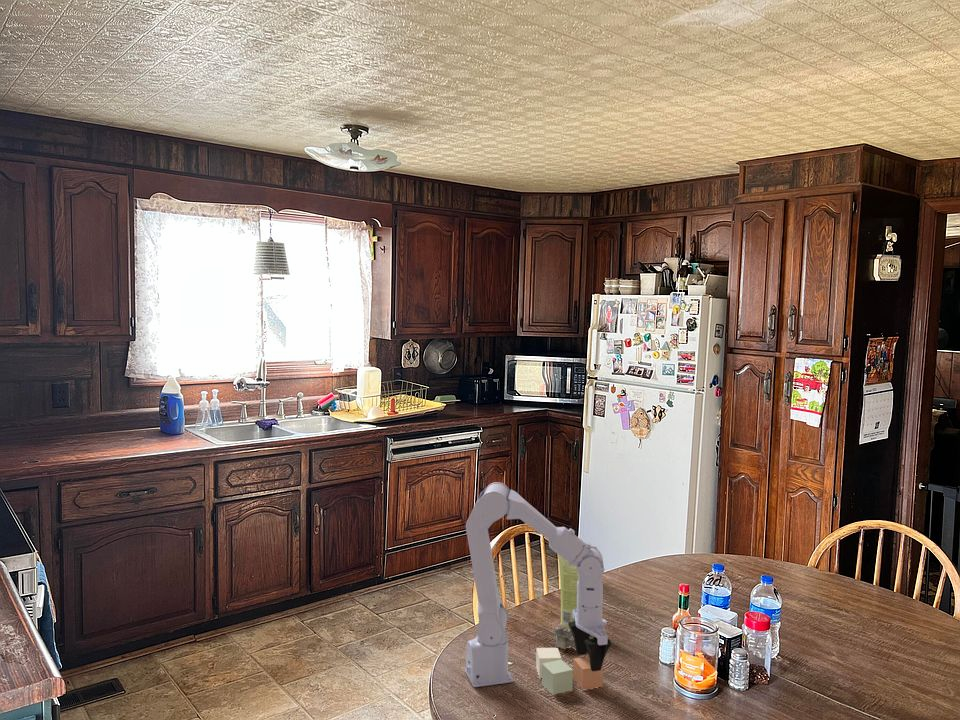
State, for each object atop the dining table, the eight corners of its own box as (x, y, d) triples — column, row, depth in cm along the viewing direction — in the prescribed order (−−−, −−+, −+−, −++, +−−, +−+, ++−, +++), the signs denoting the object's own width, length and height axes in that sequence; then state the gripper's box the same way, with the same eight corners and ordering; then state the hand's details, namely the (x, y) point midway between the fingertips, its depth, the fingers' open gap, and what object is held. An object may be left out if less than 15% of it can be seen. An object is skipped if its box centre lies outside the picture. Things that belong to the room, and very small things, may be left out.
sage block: (552, 696, 157) (553, 674, 157) (541, 685, 162) (541, 663, 162) (572, 691, 159) (572, 669, 159) (560, 680, 164) (561, 659, 164)
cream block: (539, 679, 164) (539, 658, 164) (536, 668, 169) (536, 648, 169) (561, 679, 165) (561, 657, 164) (557, 668, 170) (557, 647, 169)
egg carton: (554, 651, 179) (554, 635, 178) (554, 637, 186) (554, 622, 186) (598, 653, 178) (598, 636, 177) (595, 639, 185) (596, 623, 185)
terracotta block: (582, 691, 160) (582, 669, 159) (573, 679, 164) (573, 658, 164) (602, 688, 161) (603, 666, 161) (593, 676, 166) (593, 655, 165)
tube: (571, 619, 196) (572, 549, 195) (585, 625, 192) (586, 554, 191) (556, 625, 193) (557, 553, 191) (570, 631, 189) (571, 558, 187)
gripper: (620, 614, 155) (619, 675, 156) (592, 589, 169) (591, 645, 170) (590, 617, 154) (589, 679, 154) (564, 592, 167) (563, 649, 168)
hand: (588, 661), depth 162 cm, fingers open, 7 cm apart
